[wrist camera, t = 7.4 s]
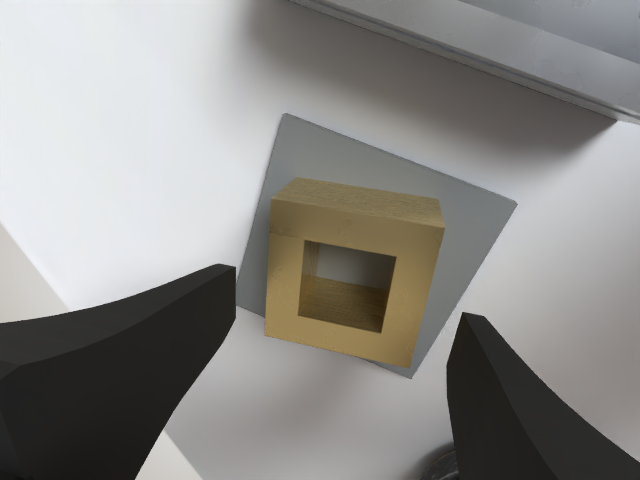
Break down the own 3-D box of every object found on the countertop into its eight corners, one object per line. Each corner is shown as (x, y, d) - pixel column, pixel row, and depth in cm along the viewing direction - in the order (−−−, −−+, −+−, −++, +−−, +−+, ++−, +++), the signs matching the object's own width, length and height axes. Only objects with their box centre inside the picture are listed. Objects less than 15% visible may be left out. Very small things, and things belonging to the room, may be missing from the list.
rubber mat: (515, 201, 14) (517, 204, 13) (411, 373, 18) (411, 379, 17) (286, 113, 14) (282, 114, 14) (235, 298, 18) (231, 303, 18)
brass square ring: (438, 198, 14) (445, 227, 11) (409, 319, 16) (409, 368, 13) (296, 177, 15) (270, 198, 12) (288, 294, 17) (264, 335, 14)
